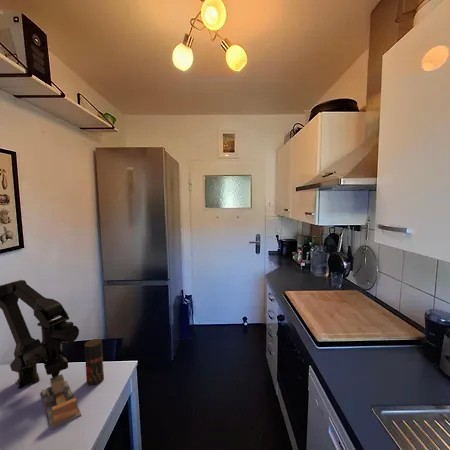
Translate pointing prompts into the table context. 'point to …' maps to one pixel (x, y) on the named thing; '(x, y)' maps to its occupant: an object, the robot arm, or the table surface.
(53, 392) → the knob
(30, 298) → the robot arm
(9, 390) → the table surface
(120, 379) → the table surface
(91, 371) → the deodorant
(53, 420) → the rail
